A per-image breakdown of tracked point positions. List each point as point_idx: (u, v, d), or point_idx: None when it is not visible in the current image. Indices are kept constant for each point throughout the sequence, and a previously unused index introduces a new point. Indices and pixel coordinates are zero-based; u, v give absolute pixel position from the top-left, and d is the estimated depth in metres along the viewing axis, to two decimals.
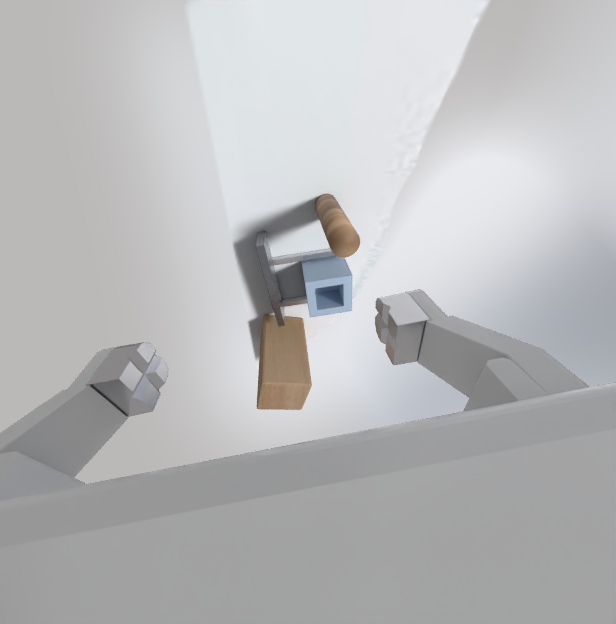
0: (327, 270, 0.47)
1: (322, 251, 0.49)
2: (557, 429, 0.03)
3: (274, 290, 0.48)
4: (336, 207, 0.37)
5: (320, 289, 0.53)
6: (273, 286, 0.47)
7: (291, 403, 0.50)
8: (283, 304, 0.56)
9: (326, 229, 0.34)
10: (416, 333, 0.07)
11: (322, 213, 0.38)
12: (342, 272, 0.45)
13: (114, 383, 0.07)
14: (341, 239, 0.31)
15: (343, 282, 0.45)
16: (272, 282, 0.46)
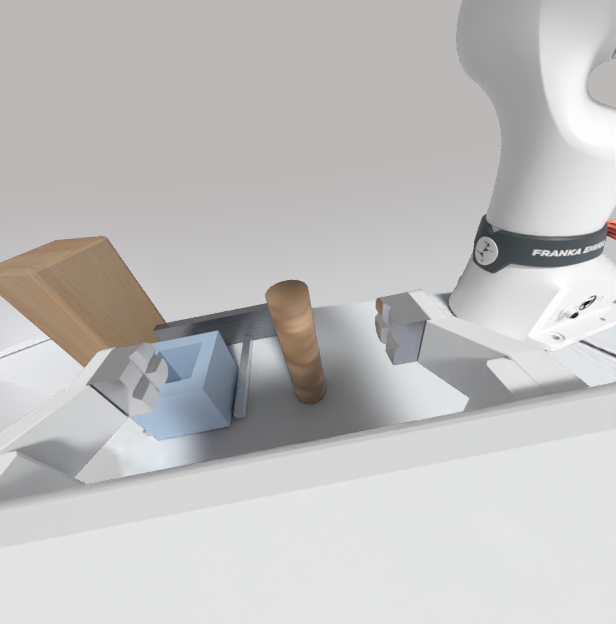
0: (220, 373, 0.29)
1: (246, 390, 0.32)
2: (557, 429, 0.03)
3: (216, 317, 0.38)
4: (318, 353, 0.27)
5: None
6: (222, 316, 0.38)
7: (17, 260, 0.29)
8: None
9: None
10: (416, 333, 0.07)
11: None
12: (211, 384, 0.26)
13: (114, 383, 0.07)
14: (293, 287, 0.22)
15: (194, 377, 0.25)
16: (228, 315, 0.38)
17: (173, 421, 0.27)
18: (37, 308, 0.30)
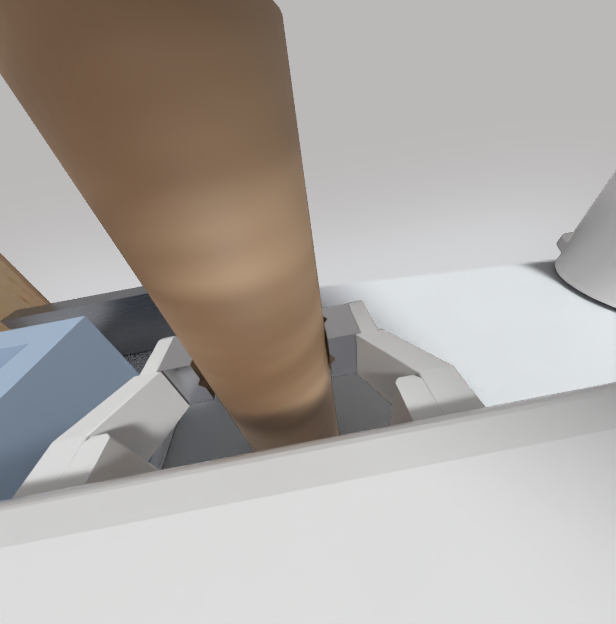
0: (65, 427, 0.11)
1: (157, 455, 0.14)
2: (557, 429, 0.03)
3: (125, 296, 0.19)
4: (330, 382, 0.08)
5: None
6: (137, 293, 0.19)
7: None
8: None
9: None
10: (349, 346, 0.07)
11: None
12: None
13: (184, 369, 0.07)
14: None
15: None
16: None
17: None
18: None
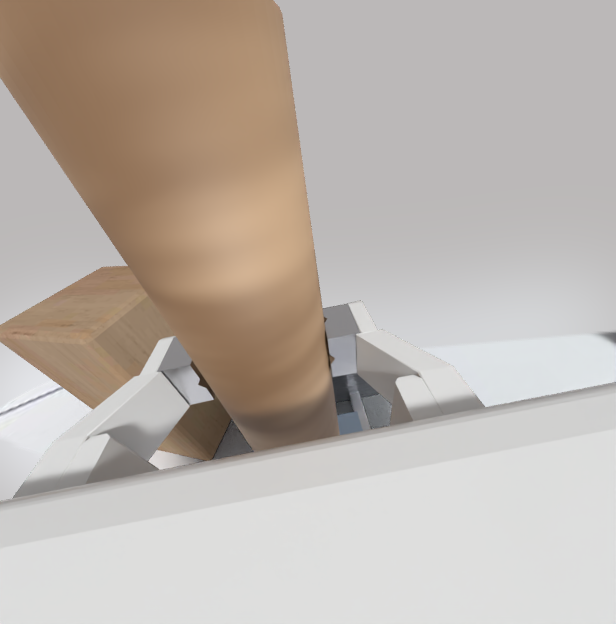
0: None
1: None
2: (557, 429, 0.03)
3: None
4: (331, 383, 0.08)
5: None
6: None
7: (53, 307, 0.18)
8: None
9: None
10: (349, 346, 0.07)
11: None
12: None
13: (184, 369, 0.07)
14: None
15: None
16: None
17: None
18: (84, 381, 0.19)
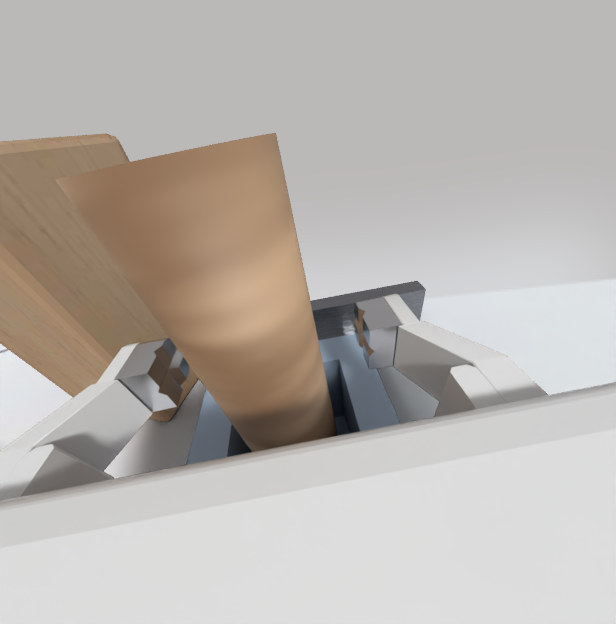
0: None
1: None
2: (557, 429, 0.03)
3: (313, 308, 0.21)
4: (328, 401, 0.09)
5: None
6: (324, 306, 0.21)
7: None
8: None
9: None
10: (389, 338, 0.07)
11: None
12: None
13: (142, 377, 0.07)
14: None
15: None
16: (335, 304, 0.21)
17: None
18: None
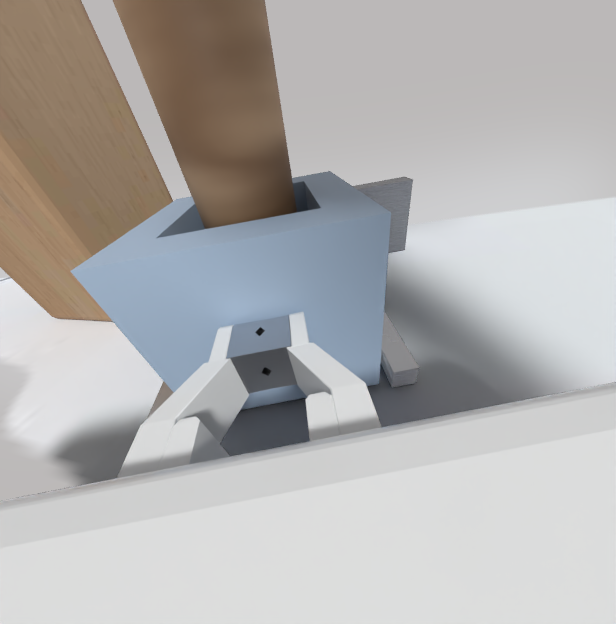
0: None
1: None
2: (557, 429, 0.03)
3: None
4: (286, 157, 0.09)
5: None
6: None
7: None
8: None
9: None
10: (282, 359, 0.07)
11: None
12: None
13: (252, 356, 0.07)
14: None
15: (332, 205, 0.08)
16: None
17: None
18: None
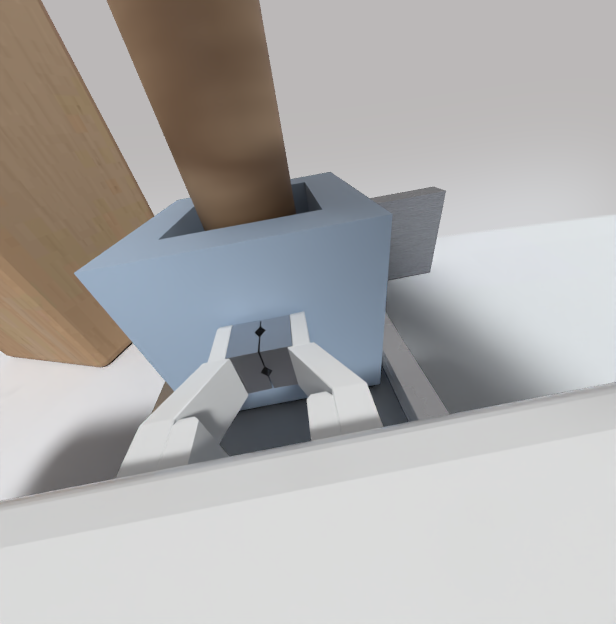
0: None
1: None
2: (557, 429, 0.03)
3: None
4: (284, 158, 0.09)
5: None
6: None
7: None
8: None
9: None
10: (283, 358, 0.07)
11: None
12: None
13: (251, 356, 0.07)
14: None
15: (333, 207, 0.08)
16: None
17: None
18: None
